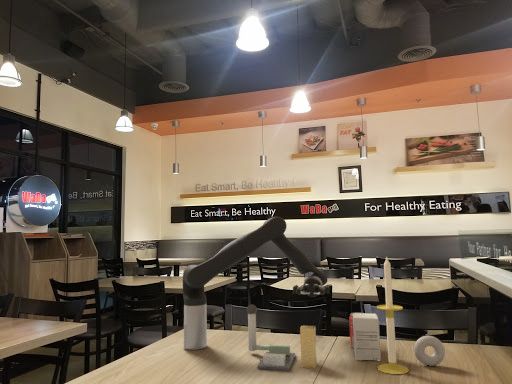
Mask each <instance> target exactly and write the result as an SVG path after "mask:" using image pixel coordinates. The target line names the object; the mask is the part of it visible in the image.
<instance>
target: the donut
mask: <svg viewBox="0 0 512 384" xmlns="http://www.w3.org/2000/svg"><path fill="white" fill-rule="evenodd" d="M428 347H432V348H433V350H434V352H433V353H432V354H431V355H429V354H426V352H425V349H426V348H428ZM413 352H414V356H415V357H416V360H418V362H420V363H421V364H423V365H424V366H427V365H429V366H428V367H434V366H437V365H440V364H441V363H442V362H443V361H444V359H445V356H446V349H445V346H444V344H443V342H442V341H441V340H440V339H439V338H437V337H435V336H433V335H422V336H421V337H419V338H418V339H417V340H416V342H415V344H414V345H413Z"/></svg>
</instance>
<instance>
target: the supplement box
mask: <svg viewBox="0 0 512 384" xmlns="http://www.w3.org/2000/svg"><path fill="white" fill-rule="evenodd" d="M352 313H353V333H354V348H353V349H354V358H355V359H354V360H355V361H362V360H377V361H376V362H379V361H378V360H381V359H382V357H381V342H380V341H381V339H380V336H381V335H380V321H379V317H378V315H377V313H364V312H352ZM381 361H382V360H381Z"/></svg>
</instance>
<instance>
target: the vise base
mask: <svg viewBox="0 0 512 384" xmlns="http://www.w3.org/2000/svg"><path fill="white" fill-rule="evenodd" d="M295 358H296V352H290V355H286V354H270V353H269V351H266V352H265V353H263V355H262V359H260V361H259V363H258V365H257V366H256V367H257V368H256V369H257V370H261V371H262V370H263V371H283V372H290V371H291V368H292V366H293V363H294V361H295Z"/></svg>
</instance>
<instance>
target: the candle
mask: <svg viewBox="0 0 512 384" xmlns="http://www.w3.org/2000/svg"><path fill="white" fill-rule="evenodd" d="M391 268H392V267H391V262H390V261H389V258H388V257H385V261H384V263H383V271H384V272H383V273H384V290H385V291H384V292H385V304H379V305H376V307H375V308H377V309H378V310H380V311H381V310H382V311H385V320H386V337H387V357H388V363H381V364H379V365H377V366H376V369H377V368H378V369H377V370H378V371H379V370H380V371H382V372H381V373H383V372H384V374H385V373H390V374H389V375H391V374H403V375H405V374H404V373H407V372H408V371H409V372H410V370H409V369H408V367H406V366H403V365H401V364H397V349H396V332H395V331H396V330H395V315H394V314H395V313H394V311H402V310H403V309H404V308H403V306H401V305H397V304H393V286H392V285H393V284H392V270H391ZM380 371H379V372H380ZM409 372H408V373H409ZM408 373H407V374H408Z"/></svg>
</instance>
